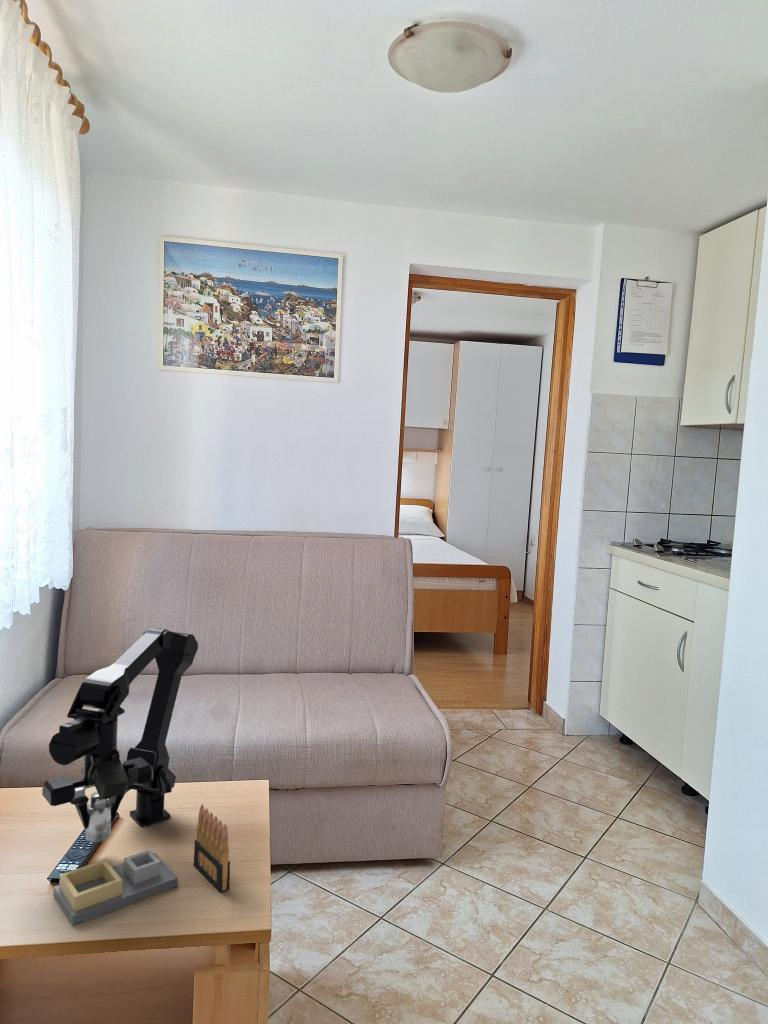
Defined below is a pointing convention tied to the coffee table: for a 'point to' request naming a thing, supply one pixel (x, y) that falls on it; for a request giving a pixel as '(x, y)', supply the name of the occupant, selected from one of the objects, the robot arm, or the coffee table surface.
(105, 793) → the robot arm
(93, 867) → the board
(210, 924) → the coffee table surface
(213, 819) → the ammunition clip
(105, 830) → the steel fitting
